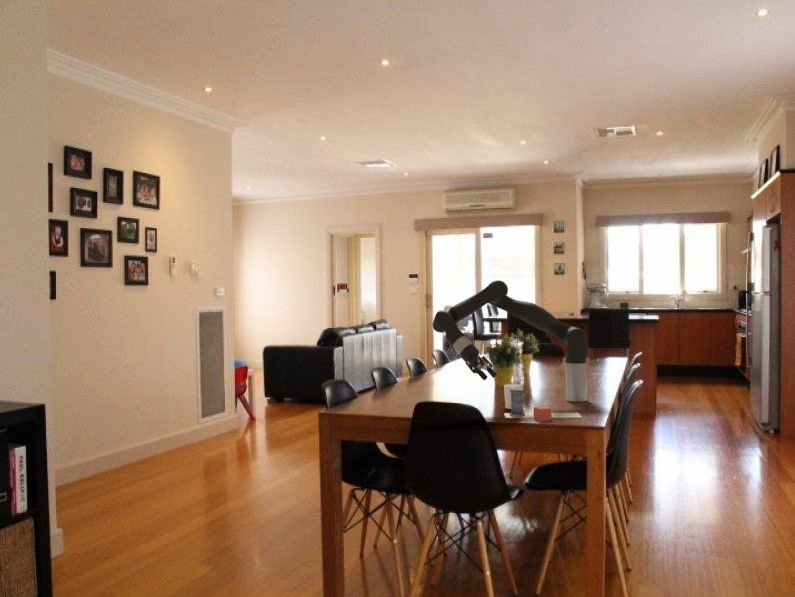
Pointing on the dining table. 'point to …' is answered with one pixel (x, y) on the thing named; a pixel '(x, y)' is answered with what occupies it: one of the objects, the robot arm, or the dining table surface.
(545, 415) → the red die
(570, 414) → the game track
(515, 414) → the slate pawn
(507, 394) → the white cup
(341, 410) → the dining table surface
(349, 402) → the dining table surface
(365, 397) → the dining table surface
